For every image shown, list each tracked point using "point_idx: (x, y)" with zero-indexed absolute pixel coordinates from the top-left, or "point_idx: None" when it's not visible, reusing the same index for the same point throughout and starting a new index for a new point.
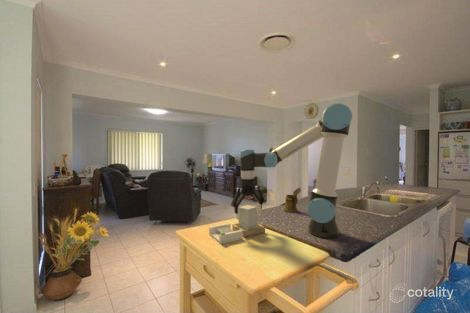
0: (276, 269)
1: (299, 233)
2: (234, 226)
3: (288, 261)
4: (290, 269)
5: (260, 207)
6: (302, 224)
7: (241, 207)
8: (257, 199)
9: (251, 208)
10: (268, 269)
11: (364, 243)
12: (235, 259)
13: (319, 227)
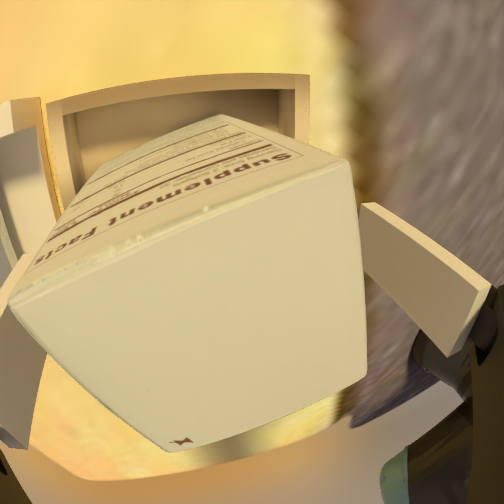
0: (151, 467)
1: (405, 312)
2: (55, 150)
3: (201, 455)
4: (184, 469)
5: (424, 318)
6: (488, 223)
7: (72, 351)
8: (476, 425)
9: (241, 432)
10: (131, 465)
11: (429, 386)
12: (45, 425)
13: (435, 372)
